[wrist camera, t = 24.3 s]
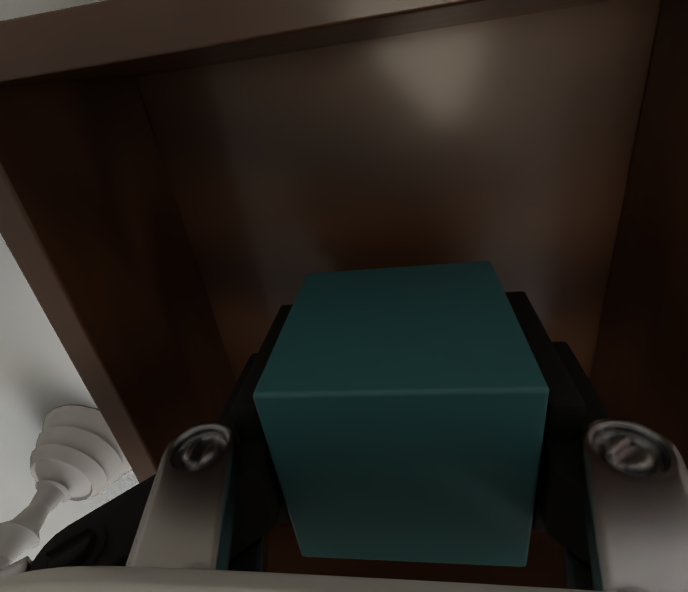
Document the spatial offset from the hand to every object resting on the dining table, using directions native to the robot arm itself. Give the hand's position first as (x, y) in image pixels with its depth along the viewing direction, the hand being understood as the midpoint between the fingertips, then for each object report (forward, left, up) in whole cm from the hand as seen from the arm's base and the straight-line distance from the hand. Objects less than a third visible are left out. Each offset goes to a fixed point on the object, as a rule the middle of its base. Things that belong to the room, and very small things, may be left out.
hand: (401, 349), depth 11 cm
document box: (0, 0, -5) cm, 5 cm away
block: (0, 0, 0) cm, 0 cm away
